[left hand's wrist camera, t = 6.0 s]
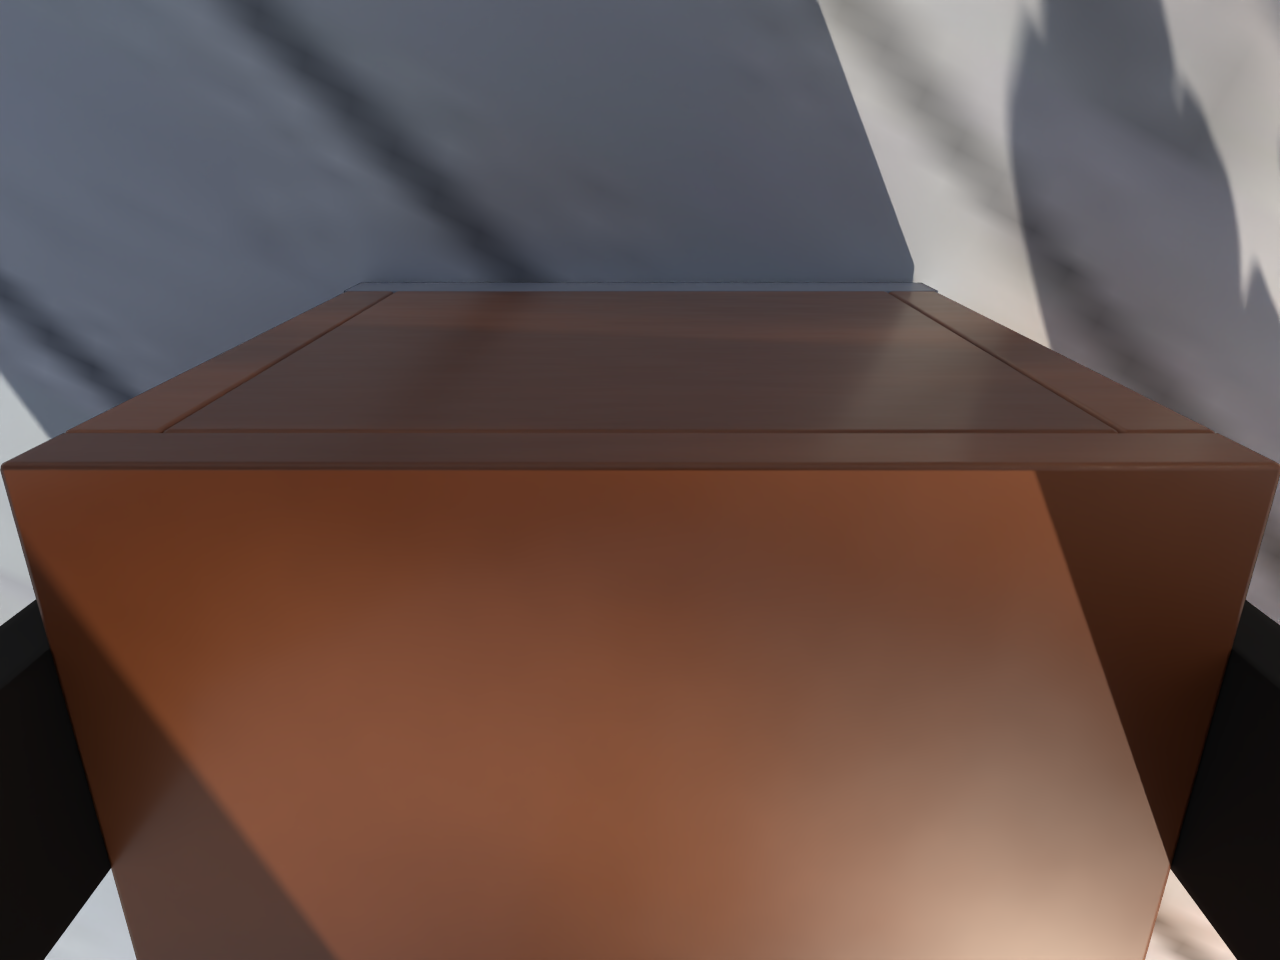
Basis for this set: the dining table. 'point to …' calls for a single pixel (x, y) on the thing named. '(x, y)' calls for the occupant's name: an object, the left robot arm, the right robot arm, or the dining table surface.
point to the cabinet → (640, 630)
